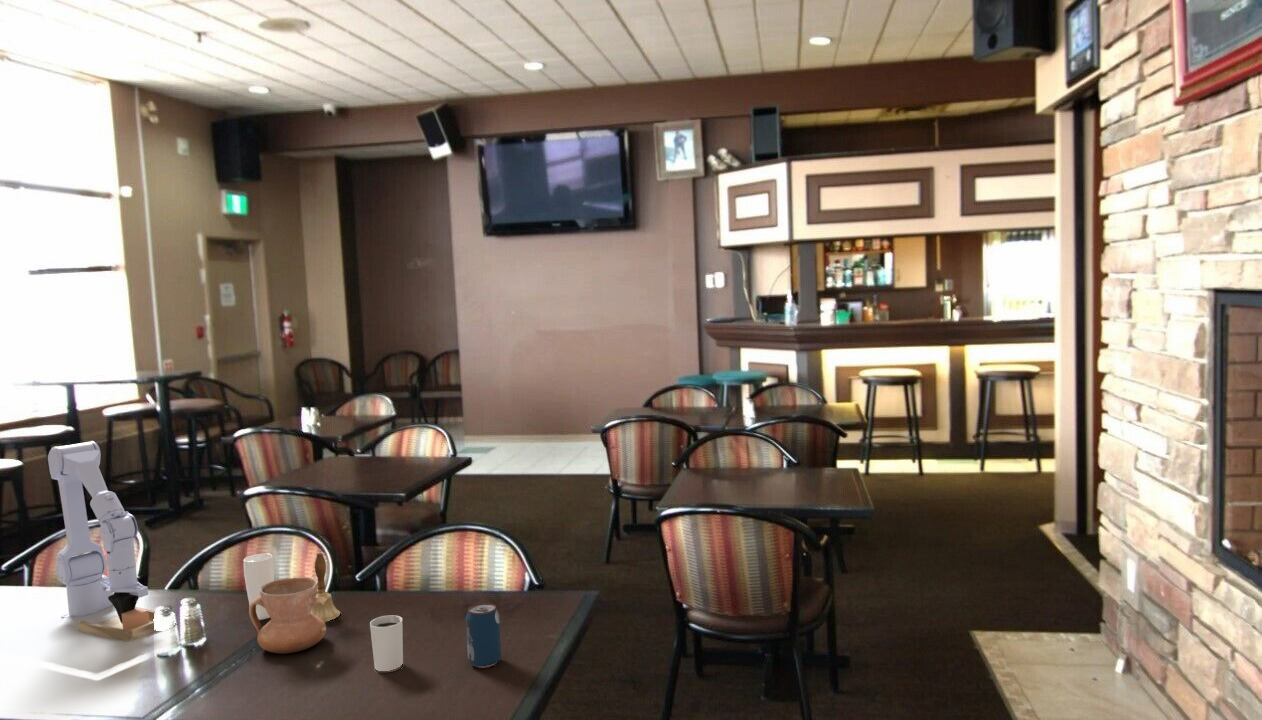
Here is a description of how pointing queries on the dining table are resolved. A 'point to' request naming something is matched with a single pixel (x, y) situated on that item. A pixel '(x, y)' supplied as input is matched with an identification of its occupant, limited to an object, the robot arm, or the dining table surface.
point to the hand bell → (323, 593)
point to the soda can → (483, 634)
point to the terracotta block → (135, 618)
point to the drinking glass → (258, 578)
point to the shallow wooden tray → (118, 628)
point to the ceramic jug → (289, 615)
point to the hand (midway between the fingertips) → (126, 622)
